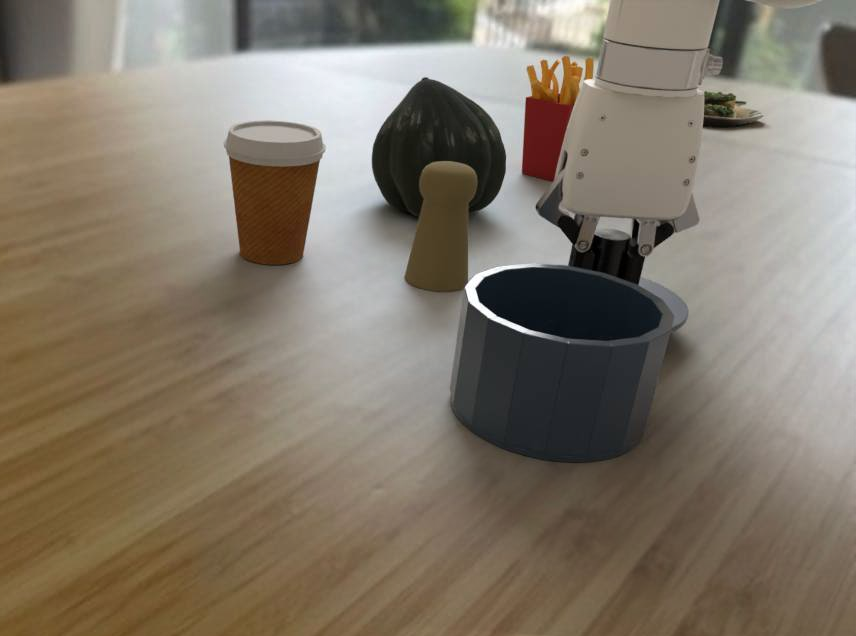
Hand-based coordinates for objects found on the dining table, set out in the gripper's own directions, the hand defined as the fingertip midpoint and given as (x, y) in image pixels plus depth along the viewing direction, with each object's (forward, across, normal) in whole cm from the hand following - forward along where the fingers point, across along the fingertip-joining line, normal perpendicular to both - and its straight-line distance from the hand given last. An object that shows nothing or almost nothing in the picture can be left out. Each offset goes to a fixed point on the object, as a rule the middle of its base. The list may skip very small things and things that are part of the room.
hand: (599, 291), depth 77 cm
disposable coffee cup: (+3, +29, -12) cm, 32 cm away
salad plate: (+3, -41, -95) cm, 104 cm away
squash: (+3, +12, -30) cm, 32 cm away
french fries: (+3, -5, -50) cm, 50 cm away
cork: (+3, +13, -8) cm, 16 cm away
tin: (+3, +7, +16) cm, 18 cm away
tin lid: (+1, 0, 0) cm, 1 cm away
